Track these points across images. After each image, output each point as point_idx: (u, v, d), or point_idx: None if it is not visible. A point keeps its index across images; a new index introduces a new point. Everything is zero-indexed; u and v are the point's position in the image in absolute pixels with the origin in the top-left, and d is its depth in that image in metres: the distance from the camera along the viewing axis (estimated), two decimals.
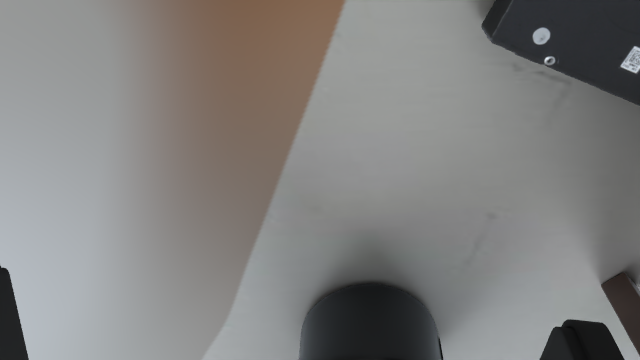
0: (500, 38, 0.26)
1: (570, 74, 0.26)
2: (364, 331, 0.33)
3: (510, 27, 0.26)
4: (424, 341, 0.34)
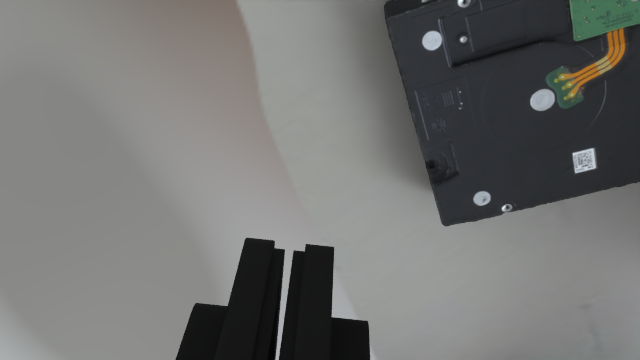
0: (449, 220, 0.26)
1: (535, 205, 0.26)
2: None
3: (450, 209, 0.26)
4: None
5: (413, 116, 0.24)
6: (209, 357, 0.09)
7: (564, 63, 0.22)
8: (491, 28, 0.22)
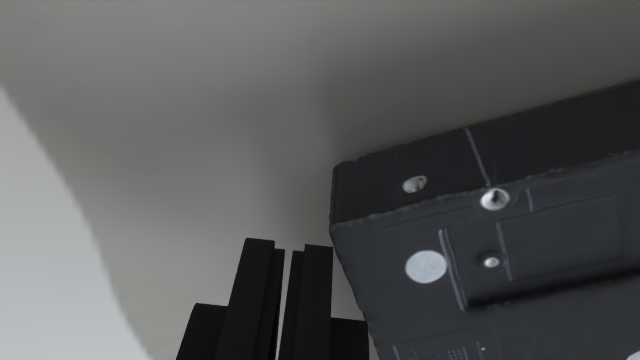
0: None
1: None
2: None
3: None
4: None
5: None
6: (208, 358, 0.09)
7: None
8: (551, 241, 0.11)
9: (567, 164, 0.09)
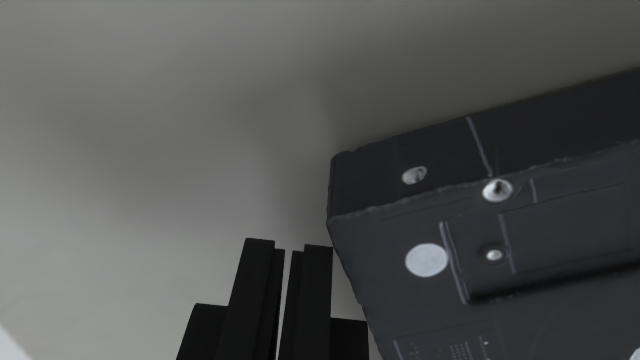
0: None
1: None
2: None
3: None
4: None
5: None
6: (208, 358, 0.09)
7: None
8: (555, 233, 0.10)
9: (572, 154, 0.09)
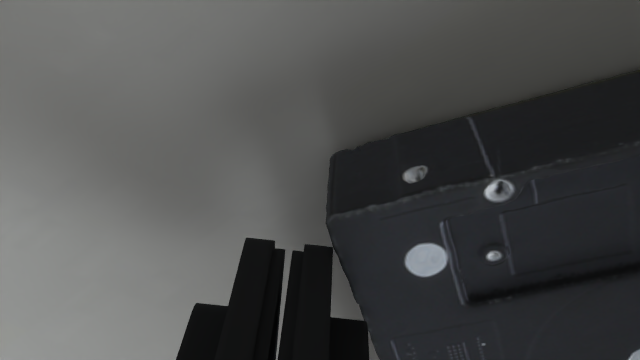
0: None
1: None
2: None
3: None
4: None
5: None
6: (208, 358, 0.09)
7: None
8: (555, 234, 0.10)
9: (575, 154, 0.09)
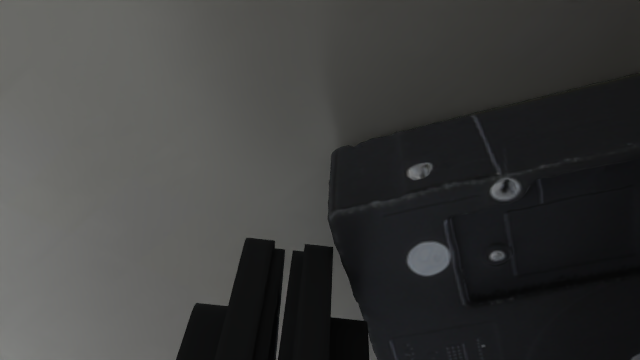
0: None
1: None
2: None
3: None
4: None
5: None
6: (209, 358, 0.09)
7: None
8: (560, 235, 0.10)
9: (583, 154, 0.09)
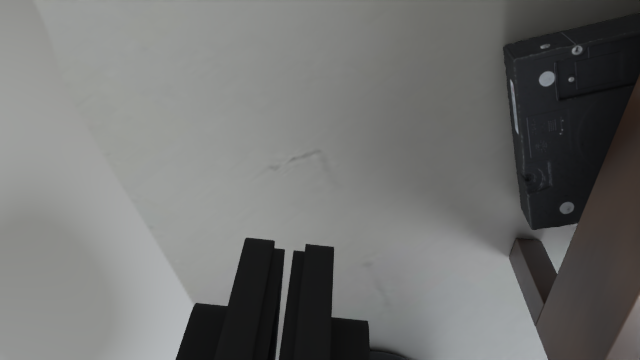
0: (537, 225, 0.32)
1: None
2: None
3: (539, 215, 0.32)
4: None
5: (522, 138, 0.30)
6: (208, 357, 0.09)
7: None
8: (594, 72, 0.28)
9: (604, 37, 0.27)
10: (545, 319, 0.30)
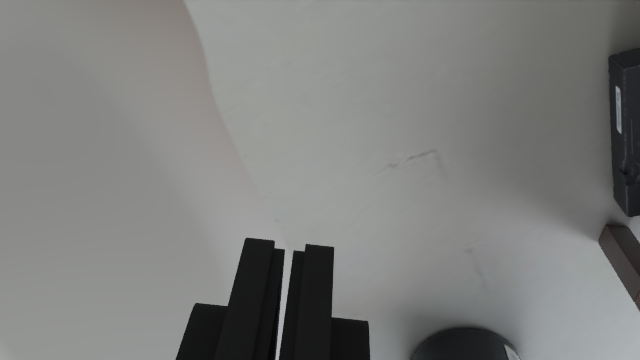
0: (633, 213, 0.36)
1: None
2: None
3: (635, 204, 0.36)
4: None
5: (625, 136, 0.34)
6: (208, 358, 0.09)
7: None
8: None
9: None
10: None
